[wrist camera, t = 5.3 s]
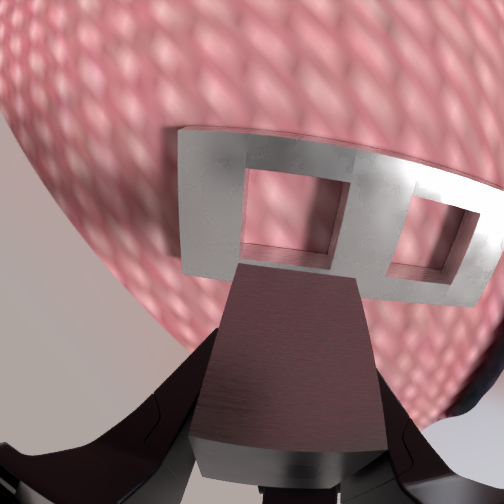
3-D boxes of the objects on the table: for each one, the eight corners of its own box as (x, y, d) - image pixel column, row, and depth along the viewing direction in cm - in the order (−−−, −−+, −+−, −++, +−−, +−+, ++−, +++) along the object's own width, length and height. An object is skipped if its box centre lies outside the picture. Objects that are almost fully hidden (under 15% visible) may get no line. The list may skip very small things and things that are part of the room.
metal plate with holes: (465, 292, 20) (473, 307, 19) (190, 259, 22) (182, 274, 20) (507, 190, 15) (522, 200, 13) (189, 125, 17) (177, 129, 15)
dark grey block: (327, 352, 11) (330, 488, 6) (233, 341, 12) (202, 476, 7) (355, 278, 9) (387, 449, 4) (238, 263, 10) (187, 435, 5)
